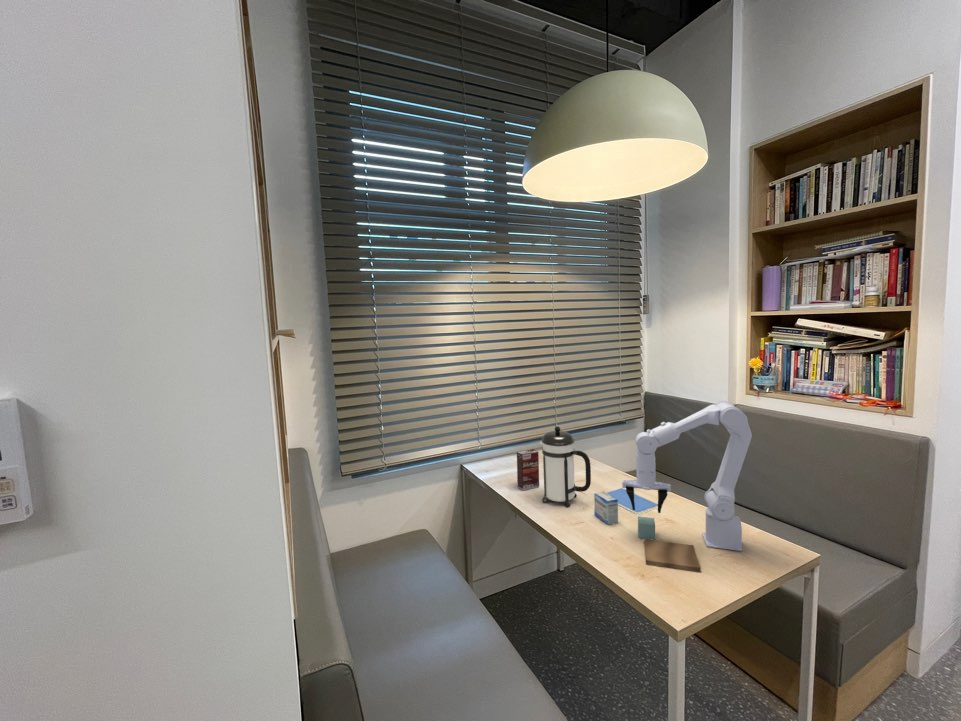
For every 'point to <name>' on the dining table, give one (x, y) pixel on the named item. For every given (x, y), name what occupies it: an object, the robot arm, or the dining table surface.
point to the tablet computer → (639, 501)
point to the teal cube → (646, 528)
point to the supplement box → (527, 469)
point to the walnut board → (671, 555)
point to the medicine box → (606, 507)
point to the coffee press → (561, 467)
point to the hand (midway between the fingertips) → (646, 510)
